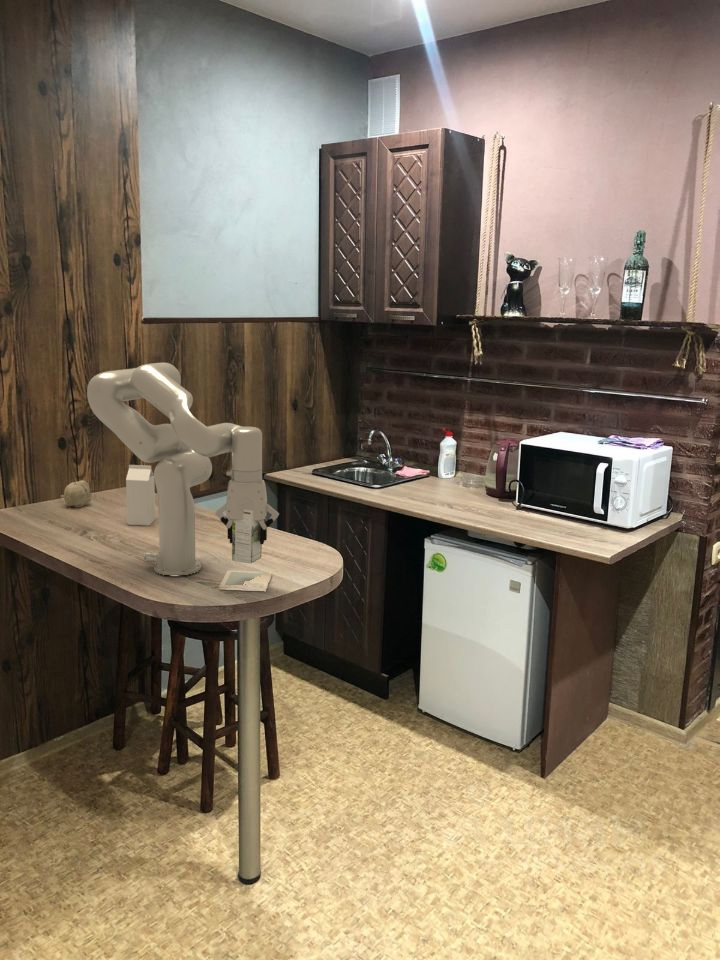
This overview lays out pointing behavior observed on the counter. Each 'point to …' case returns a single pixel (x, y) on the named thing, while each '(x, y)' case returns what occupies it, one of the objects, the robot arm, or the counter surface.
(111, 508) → the counter surface
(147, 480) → the milk carton
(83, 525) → the counter surface
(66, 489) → the beige lumpy ball
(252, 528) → the syrup box
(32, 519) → the counter surface
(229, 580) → the plate
